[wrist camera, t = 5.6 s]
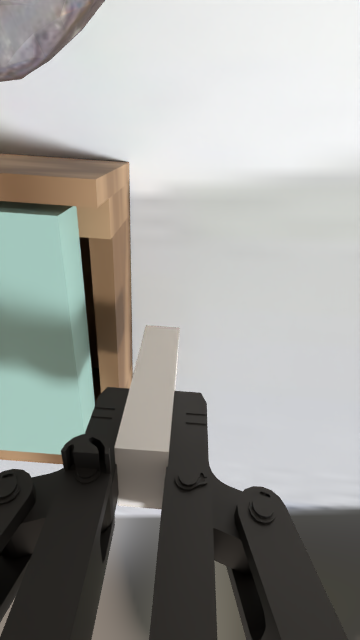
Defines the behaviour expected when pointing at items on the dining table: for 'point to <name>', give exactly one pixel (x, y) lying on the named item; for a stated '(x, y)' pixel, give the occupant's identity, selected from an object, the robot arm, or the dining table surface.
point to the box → (87, 254)
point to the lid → (42, 329)
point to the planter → (38, 31)
